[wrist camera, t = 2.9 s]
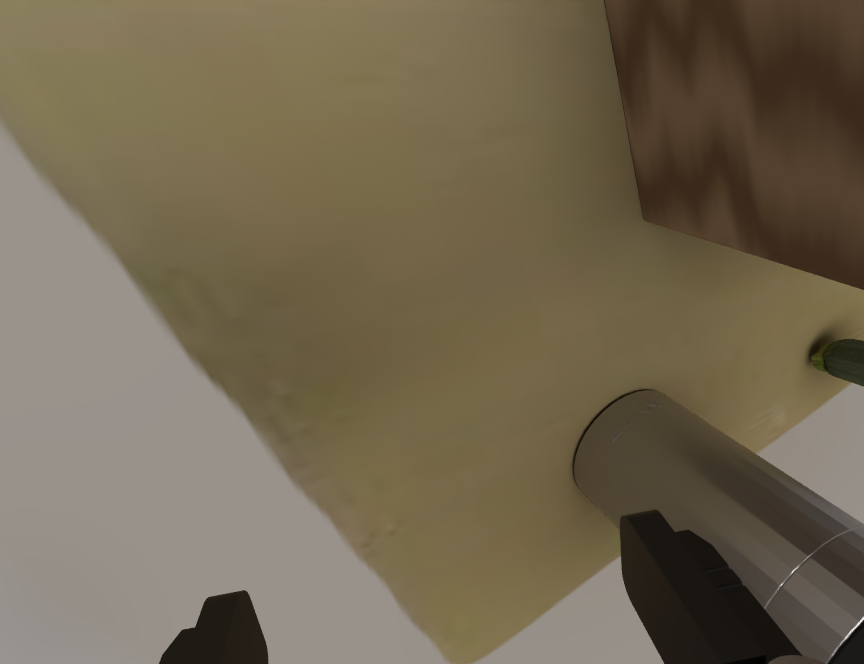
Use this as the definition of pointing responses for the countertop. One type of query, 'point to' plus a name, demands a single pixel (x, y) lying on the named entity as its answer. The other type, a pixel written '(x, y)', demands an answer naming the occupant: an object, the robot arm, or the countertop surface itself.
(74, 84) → the countertop surface
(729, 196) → the pedestal
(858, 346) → the vegetable
